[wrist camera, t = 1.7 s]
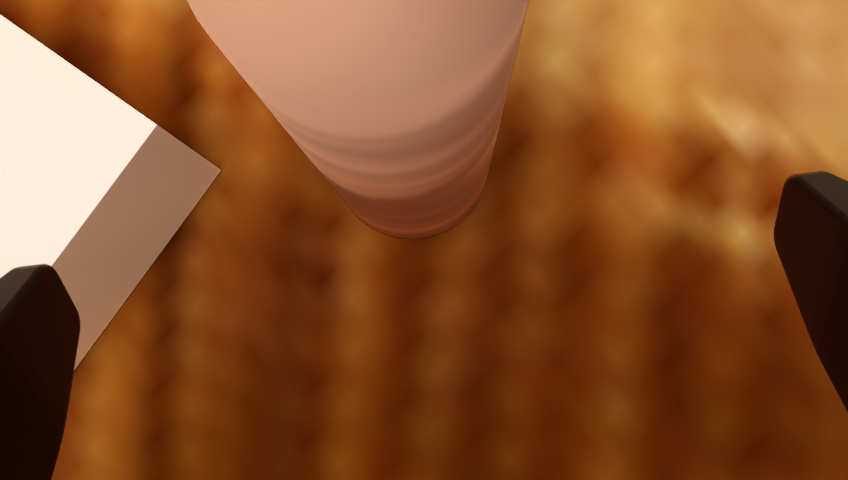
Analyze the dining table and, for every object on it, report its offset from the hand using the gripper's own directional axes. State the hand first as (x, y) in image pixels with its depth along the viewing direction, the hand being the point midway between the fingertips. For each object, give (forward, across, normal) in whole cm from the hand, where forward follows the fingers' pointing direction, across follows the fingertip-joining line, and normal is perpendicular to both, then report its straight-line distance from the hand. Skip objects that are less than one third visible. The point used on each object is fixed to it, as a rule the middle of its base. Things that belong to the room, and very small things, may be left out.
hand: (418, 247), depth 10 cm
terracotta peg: (+10, 0, +5) cm, 11 cm away
